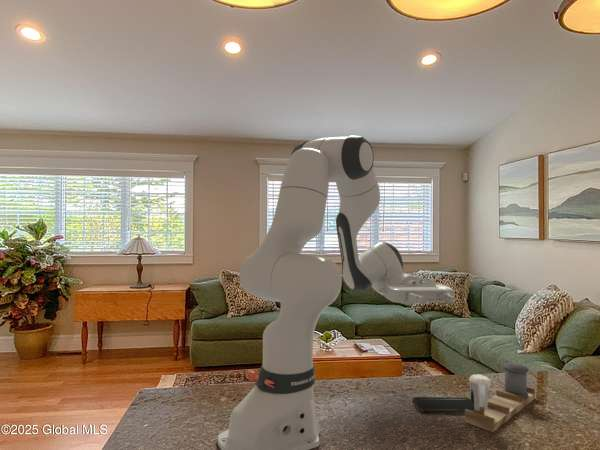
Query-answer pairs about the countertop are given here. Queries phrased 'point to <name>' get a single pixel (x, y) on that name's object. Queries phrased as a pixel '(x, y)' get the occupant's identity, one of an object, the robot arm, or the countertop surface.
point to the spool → (516, 379)
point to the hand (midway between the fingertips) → (437, 300)
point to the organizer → (499, 409)
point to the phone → (442, 405)
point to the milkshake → (480, 393)
